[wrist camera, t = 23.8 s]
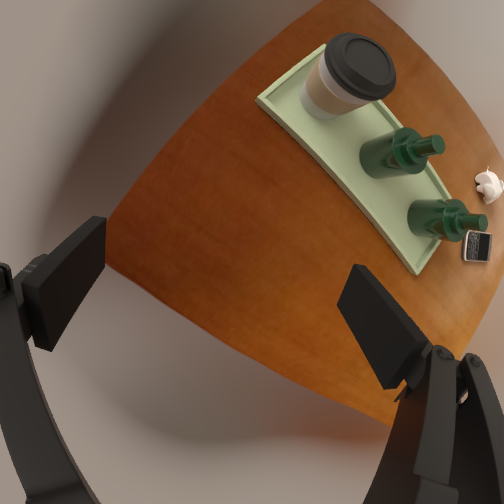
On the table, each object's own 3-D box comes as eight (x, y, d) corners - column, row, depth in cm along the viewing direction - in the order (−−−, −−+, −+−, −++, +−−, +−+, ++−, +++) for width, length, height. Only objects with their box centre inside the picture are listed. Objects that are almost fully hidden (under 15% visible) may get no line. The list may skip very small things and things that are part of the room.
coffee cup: (306, 64, 37) (347, 12, 23) (355, 94, 39) (411, 57, 24) (282, 107, 38) (320, 60, 23) (335, 138, 40) (393, 110, 25)
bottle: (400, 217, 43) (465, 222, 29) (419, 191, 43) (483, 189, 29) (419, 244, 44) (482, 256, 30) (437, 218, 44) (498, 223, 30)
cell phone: (462, 228, 47) (467, 229, 45) (489, 233, 48) (493, 234, 47) (459, 259, 47) (464, 260, 46) (486, 261, 49) (490, 262, 48)
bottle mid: (351, 156, 40) (411, 138, 26) (373, 131, 40) (433, 108, 26) (377, 187, 42) (441, 182, 28) (398, 161, 42) (461, 149, 28)
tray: (254, 102, 38) (257, 96, 36) (319, 49, 38) (324, 43, 36) (410, 273, 46) (417, 275, 43) (452, 210, 46) (459, 211, 44)
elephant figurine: (473, 207, 47) (494, 208, 41) (467, 169, 45) (488, 167, 39) (489, 201, 47) (508, 202, 42) (483, 165, 46) (502, 164, 40)
